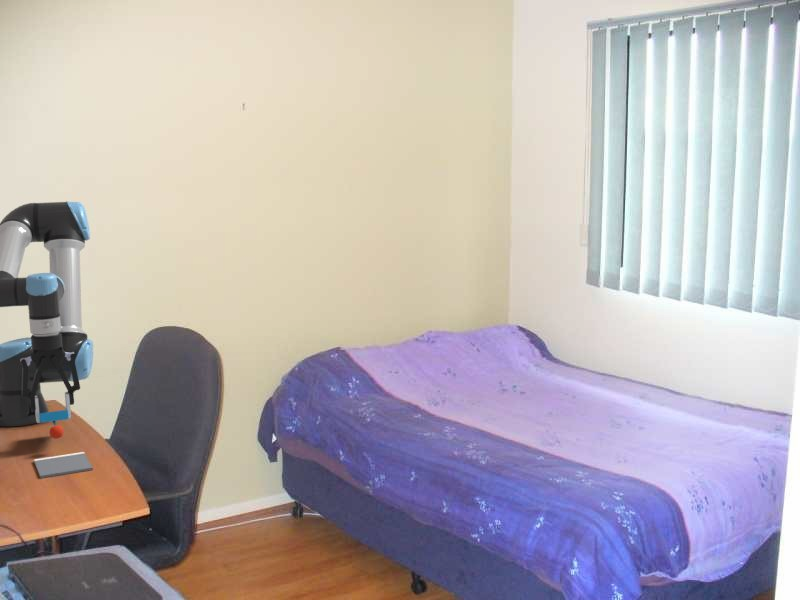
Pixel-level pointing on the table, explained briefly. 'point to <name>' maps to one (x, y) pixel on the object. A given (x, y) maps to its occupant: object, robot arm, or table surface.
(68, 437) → the table surface
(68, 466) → the mat
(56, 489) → the table surface
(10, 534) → the table surface
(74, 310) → the robot arm
